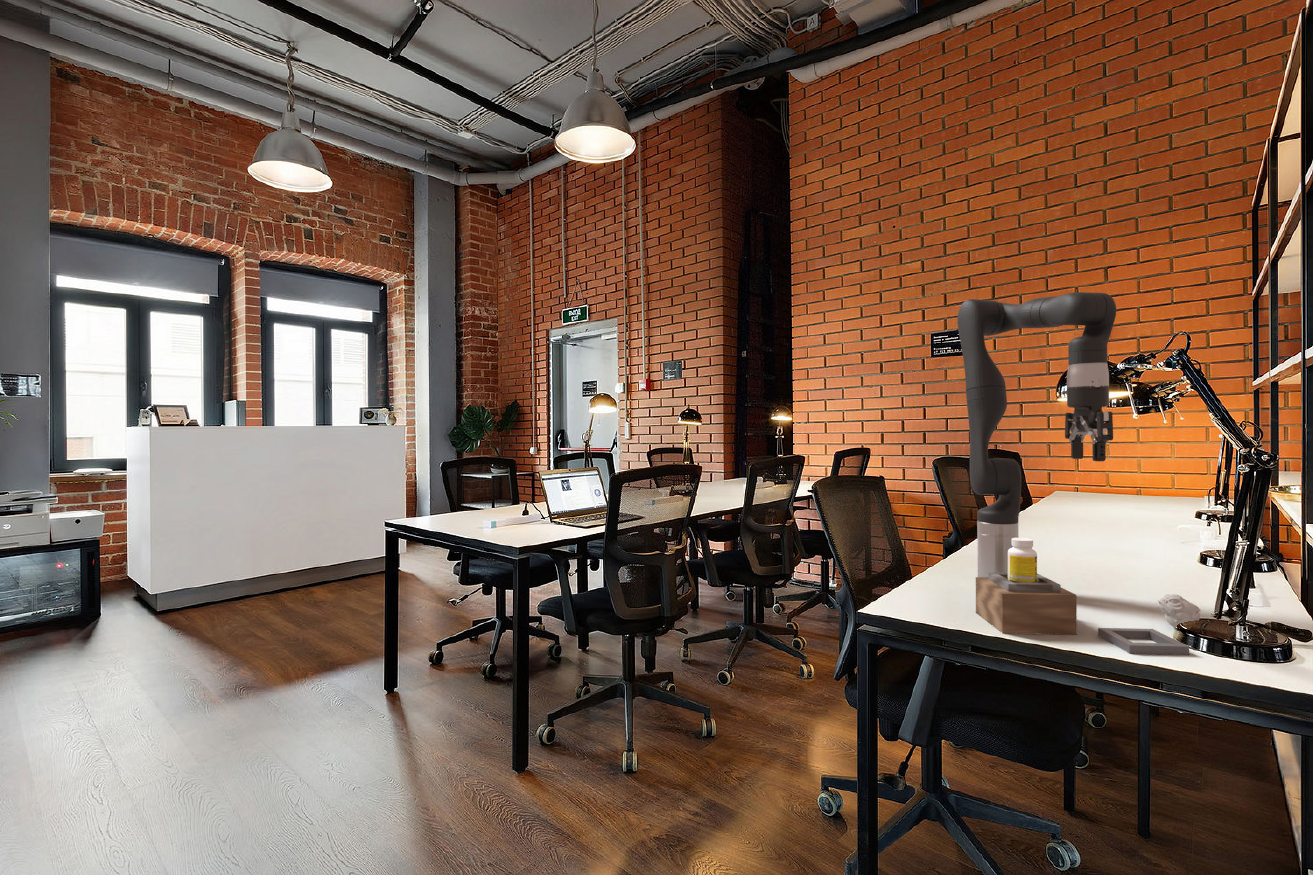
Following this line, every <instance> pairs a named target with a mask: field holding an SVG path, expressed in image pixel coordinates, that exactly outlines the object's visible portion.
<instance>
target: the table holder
mask: <svg viewBox="0 0 1313 875" xmlns="http://www.w3.org/2000/svg"><path fill="white" fill-rule="evenodd" d="M1097 631H1098V632H1097V635H1098V636H1099V637H1100V638H1102V639H1104V640H1106V641H1107V642H1109V643H1111V644H1112V645H1114V646H1116V647H1118V648H1119V649H1121V650H1122V651H1125V652H1127V653H1128V654H1133V655H1134V654H1135V655H1136V654H1138V655H1141V654H1142V655H1143V654H1144V655H1145V654H1146V655H1179V656H1180V655H1181V656H1182V655H1183V656H1184V655H1186V656H1187V655H1188V656H1190V646H1188V645H1187V644H1184V643H1182V642H1180V641H1179V640H1176V639H1174V638H1172V637H1170V636H1168V635H1166V634H1164V633H1162V632H1160V631H1158V630H1156V629H1154V628H1134V627H1133V628H1128V627H1127V628H1125V627H1120V628H1119V627H1098V628H1097ZM1129 639H1132V640H1133V639H1137V640H1138V639H1139V640H1140V639H1141V640H1142V639H1143V640H1144V639H1145V640H1147V639H1149V640H1151V641H1153V642H1133V641H1131V640H1129Z"/></svg>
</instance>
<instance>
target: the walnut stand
mask: <svg viewBox="0 0 1313 875" xmlns="http://www.w3.org/2000/svg"><path fill="white" fill-rule="evenodd" d="M1061 585H1062V584H1060V583H1057V582H1056V581H1054V580H1052V579H1050V578H1048V577H1046V576H1044V575H1041V574H1039V573H1037V583H1018V582H1011V581H1009V580H1008V573H989V577H978V576H975V614H977V615H978V616H979V617H981V618H982V619H983V620H985V621H986V622H987V623H989V624H990V625H991V626H992V625H993V626H992V627H993V628H995V629H996V630H998V631H999V632H1000V633H1001V632H1002V633H1001V634H1011V635H1012V634H1013V635H1014V634H1018V633H1019V635H1020V634H1021V635H1064V636H1065V635H1070V636H1073V635H1074V636H1077V633H1078V631H1077V629H1078V628H1077V625H1078V624H1077V623H1078V622H1077V620H1078V618H1077V617H1078V616H1077V615H1078V614H1077V612H1078V610H1077V608H1078V606H1077V597H1078V595H1077V594H1075V593H1073V592H1071V591H1069V590H1067V589H1065V588H1063V587H1062V586H1061Z"/></svg>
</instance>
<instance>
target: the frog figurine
mask: <svg viewBox="0 0 1313 875" xmlns="http://www.w3.org/2000/svg"><path fill="white" fill-rule="evenodd" d="M1157 602H1158V607H1159V609H1160V611H1161V612H1162V613H1163V614H1165V615H1164V616H1165V617H1164V618H1165V620H1166V622H1167V623H1168V625H1170V626H1171V627H1172V628H1174V629H1176V627H1177V625H1178V624H1179V623H1184V622H1188V621H1194V620H1198V621H1199V620H1200V619H1201V618H1200V617H1201V608H1199V607H1198V606H1197V605H1196V604H1194V603H1192V602H1190V601H1188V600H1187V599H1185V598H1183V597H1182V596H1181V595H1179V594H1174V593H1172V594H1165V595H1164V596H1163V597H1161V598H1159V600H1157Z"/></svg>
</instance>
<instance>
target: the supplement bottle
mask: <svg viewBox="0 0 1313 875" xmlns="http://www.w3.org/2000/svg"><path fill="white" fill-rule="evenodd" d="M1012 546H1013V548H1010V549H1009V550H1008V580H1009V581H1011V582H1018V583H1037V574H1038V553H1037V551H1036V550H1035V549H1033V547H1034V539H1032V538H1027V537H1019V538H1012Z"/></svg>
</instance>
